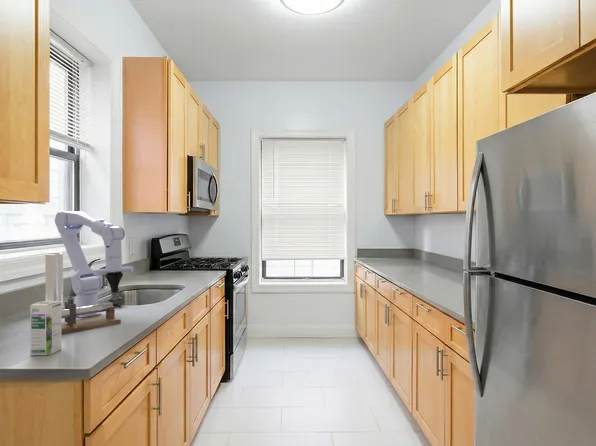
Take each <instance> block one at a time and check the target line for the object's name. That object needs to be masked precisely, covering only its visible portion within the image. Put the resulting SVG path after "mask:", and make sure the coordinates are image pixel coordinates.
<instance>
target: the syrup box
mask: <svg viewBox="0 0 596 446" xmlns="http://www.w3.org/2000/svg"><path fill="white" fill-rule="evenodd" d="M29 309H30V310H29V311H30V312H29V314H30V315H29V318H30V321H29V322H30V351H29V352H30V356H32V357H33V356H52V355H53V354H55V353H57V352H58V351H60V350H61V349H62V334H61V323H62V319H61V310H62V309H61V301H55V302H46V300H45V301H44V300H43V301H38V302H35V303H32V304H30V308H29Z"/></svg>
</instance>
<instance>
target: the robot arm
mask: <svg viewBox="0 0 596 446" xmlns="http://www.w3.org/2000/svg"><path fill="white" fill-rule="evenodd" d="M54 224H55V226H56V228H57V232H58V233H59V234H60V238H61V240H62V243H63V246H64V248H65V251H66V253H67V256H68V258H69V261H70V263H71V265H72V268H73V269H72V270H73V271H74V274H73V275H72V276H71V278H70V281H71V289H72V291H73V293H74V294H75V295H76V296H75V298H74V304H76V308H77V307H84V306H90V305H97V304H98V292H100V289H101V288H102V287H103V286H102V285H103V280H102V278H101V277H100V275H101V276H102V275H104V277H105V279H106V280H107V282H108V284H109V288H110V291H111V292H117V289H119V286H120V285H119V284H120V282H121V280H122V279H123V276H124V274H123V273H129V272H132V273H133V272H134V266H122V264H123V263H122V260H123V257H122V255H123V253H122V252H123V251H122V249H123V248H122V240H124V238H125V234H126V233H125V228H123V227H122V226H121V225H118V226H115V225H113V224H112V223H111V222H110V223H108V222H106V221H105V219H104V218H99V219H94V218H93V217H91V216H89V215H88V214H87V213H86V212H83V211H82V210H79V211H74V210H73V211H72V210H70V211H69V210H58V212H56V214H55V217H54ZM83 226H86V227H88V228H90V230H91V232H92V233H93V234H96V235H98V236H100V237H101V238H102V240H103V245H104V246H105V247H104V249H105V251H104V252H105V255H104V256H105V268H100V269H92V268H91V267H90V266H89V264H88V262H87V258H86V257H85V253H84V251H83V249H82V246H81V244H80V241H79V239H78V235H77V234H79V233H80V231H81V230H82V228H83ZM100 315H102V312H98V313H92V314H86V315H80V316H77V317H78V318H79V319H83V318H89V317H95V316H100Z"/></svg>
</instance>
